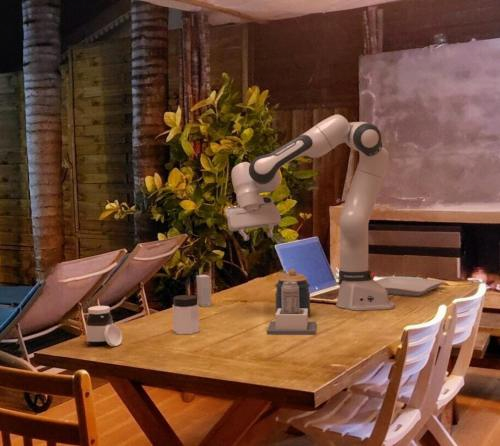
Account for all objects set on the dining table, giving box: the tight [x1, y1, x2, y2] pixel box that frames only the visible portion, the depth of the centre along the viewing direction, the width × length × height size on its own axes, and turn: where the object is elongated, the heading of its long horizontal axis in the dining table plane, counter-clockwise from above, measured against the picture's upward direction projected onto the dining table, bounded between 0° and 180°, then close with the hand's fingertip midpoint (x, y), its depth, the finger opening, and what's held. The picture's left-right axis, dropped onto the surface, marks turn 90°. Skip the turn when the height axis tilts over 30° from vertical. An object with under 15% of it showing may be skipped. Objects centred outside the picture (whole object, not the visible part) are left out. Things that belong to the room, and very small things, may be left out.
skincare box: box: [195, 274, 212, 308], centre depth 287 cm, size 6×4×12 cm
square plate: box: [375, 276, 445, 297], centre depth 310 cm, size 27×27×4 cm
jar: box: [172, 294, 200, 335], centre depth 243 cm, size 9×8×12 cm
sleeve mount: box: [266, 308, 317, 336], centre depth 243 cm, size 16×14×6 cm
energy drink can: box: [281, 281, 299, 314], centre depth 243 cm, size 6×6×15 cm
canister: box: [274, 268, 311, 318], centre depth 263 cm, size 13×13×18 cm
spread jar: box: [85, 305, 123, 347], centre depth 229 cm, size 12×11×12 cm
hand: (258, 238), depth 262 cm, fingers open, 8 cm apart
